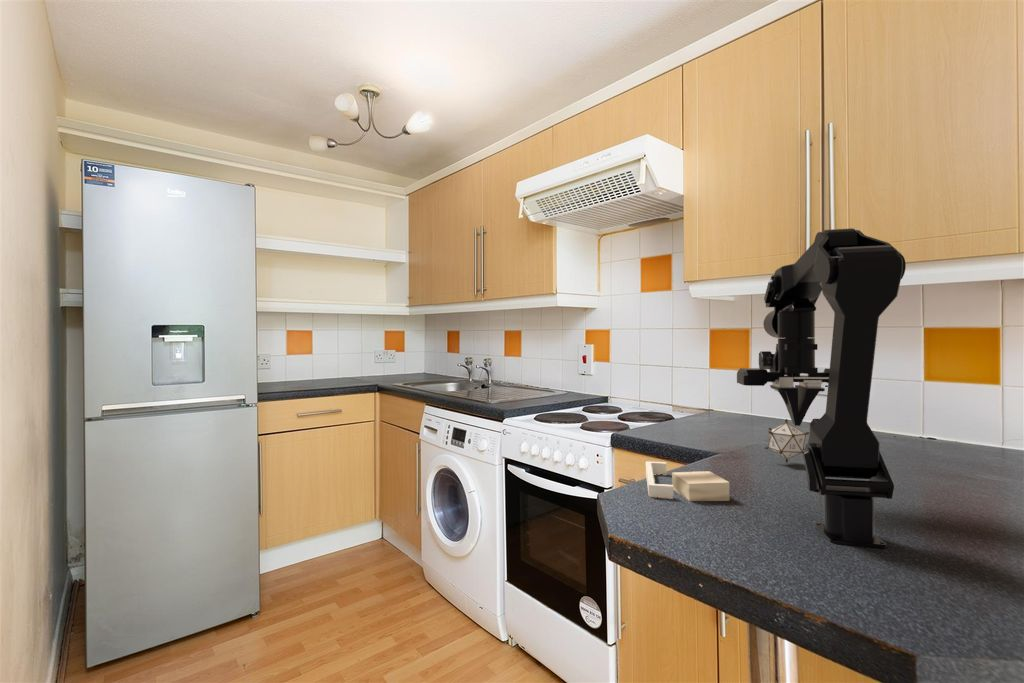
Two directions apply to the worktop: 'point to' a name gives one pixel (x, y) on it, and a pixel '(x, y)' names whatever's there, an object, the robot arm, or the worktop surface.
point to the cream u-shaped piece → (653, 488)
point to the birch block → (701, 486)
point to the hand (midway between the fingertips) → (796, 425)
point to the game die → (786, 440)
